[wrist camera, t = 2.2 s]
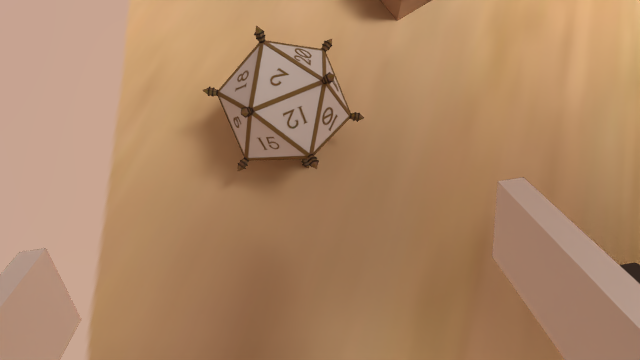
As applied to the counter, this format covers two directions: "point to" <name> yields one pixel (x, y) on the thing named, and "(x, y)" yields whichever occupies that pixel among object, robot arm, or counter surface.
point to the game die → (283, 102)
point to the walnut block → (403, 6)
